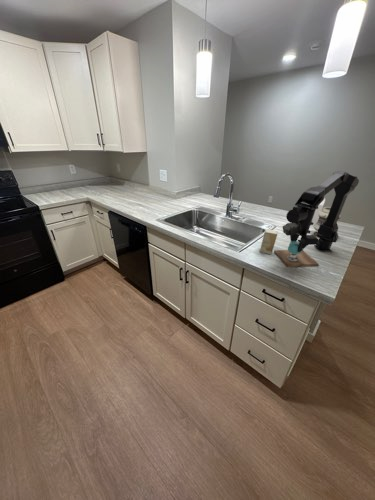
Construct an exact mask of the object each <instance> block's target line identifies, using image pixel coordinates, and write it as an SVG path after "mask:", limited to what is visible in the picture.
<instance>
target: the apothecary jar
mask: <svg viewBox="0 0 375 500" xmlns="http://www.w3.org/2000/svg"><path fill="white" fill-rule="evenodd" d="M330 208H331V206H325V207H324V206H323V208H322V210H321V211H319V213H318V215H319V219H318V221H317V223H315V224H314V225H313V229H314V230H315V231H314V232H313V233H312V235H314V236H315V237H316V238H318V239H319V237H317V231H318V229H319V227H320V225H322V224H323V223H324V222H326V219H327V217H328V214H329V211H330ZM341 217H342V215H341V214H340V216H339V218H338V220H340V219H341Z"/></svg>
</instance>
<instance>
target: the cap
mask: <svg viewBox="0 0 375 500" xmlns="http://www.w3.org/2000/svg"><path fill="white" fill-rule="evenodd" d="M298 246H299V241H298V240H297V241H291V240H290V242H289V244H288V248H287V250H288V251H290V252H291V253H294V254H300V253H301V252H302V251H301V252H298Z"/></svg>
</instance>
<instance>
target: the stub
mask: <svg viewBox="0 0 375 500" xmlns="http://www.w3.org/2000/svg"><path fill="white" fill-rule="evenodd" d="M296 256H297V254H294V253H290V255H288V256H287V257H286V258H287V260H289V261H292V262H296V261H298V258H297V257H296Z"/></svg>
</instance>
